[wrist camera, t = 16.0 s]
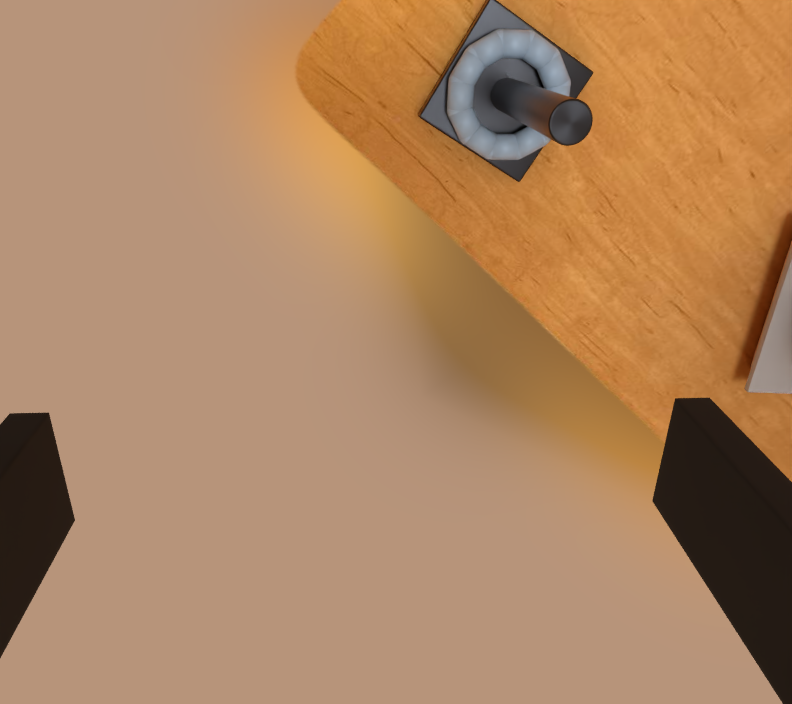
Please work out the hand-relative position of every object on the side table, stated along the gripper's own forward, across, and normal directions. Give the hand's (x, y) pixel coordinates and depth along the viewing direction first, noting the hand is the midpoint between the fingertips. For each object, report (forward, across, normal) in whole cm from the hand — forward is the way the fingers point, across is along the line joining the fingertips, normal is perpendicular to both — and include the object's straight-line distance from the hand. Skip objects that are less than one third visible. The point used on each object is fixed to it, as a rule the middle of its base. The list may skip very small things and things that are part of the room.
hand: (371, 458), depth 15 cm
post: (+34, +10, +4) cm, 36 cm away
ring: (+32, +10, +4) cm, 34 cm away
